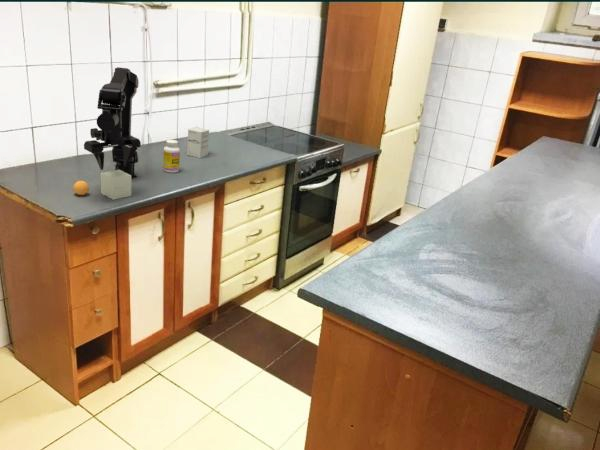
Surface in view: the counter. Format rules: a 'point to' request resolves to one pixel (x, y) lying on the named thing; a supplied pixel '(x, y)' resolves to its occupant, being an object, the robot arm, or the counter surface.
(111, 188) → the sage green cuboid
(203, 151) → the supplement box
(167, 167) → the supplement bottle
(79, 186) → the ball
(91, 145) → the robot arm
